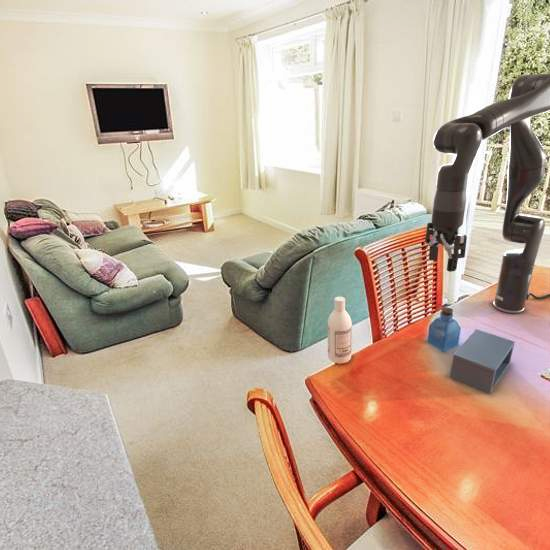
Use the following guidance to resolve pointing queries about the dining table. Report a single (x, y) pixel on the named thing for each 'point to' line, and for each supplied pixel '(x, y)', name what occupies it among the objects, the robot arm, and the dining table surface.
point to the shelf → (482, 360)
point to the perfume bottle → (444, 331)
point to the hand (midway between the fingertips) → (441, 265)
